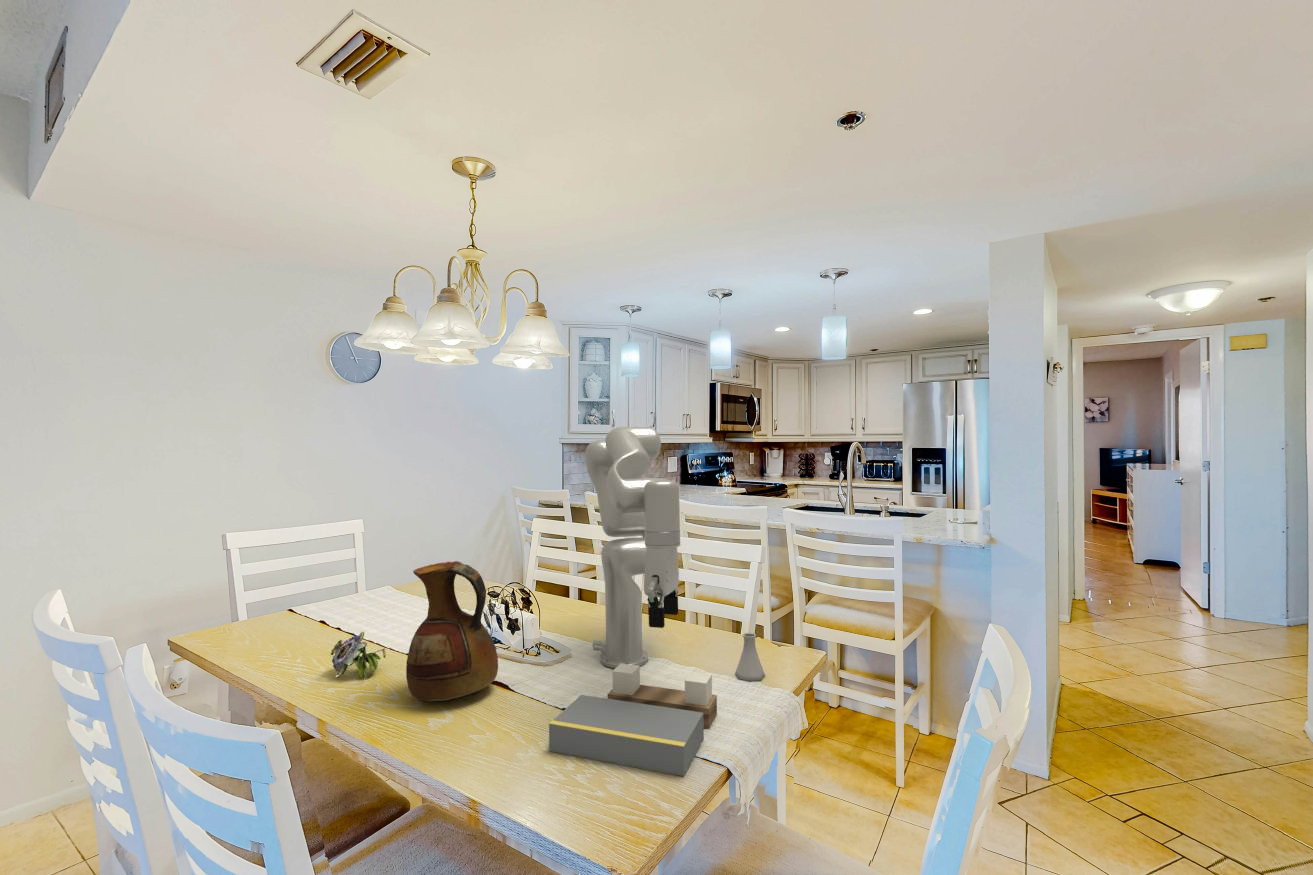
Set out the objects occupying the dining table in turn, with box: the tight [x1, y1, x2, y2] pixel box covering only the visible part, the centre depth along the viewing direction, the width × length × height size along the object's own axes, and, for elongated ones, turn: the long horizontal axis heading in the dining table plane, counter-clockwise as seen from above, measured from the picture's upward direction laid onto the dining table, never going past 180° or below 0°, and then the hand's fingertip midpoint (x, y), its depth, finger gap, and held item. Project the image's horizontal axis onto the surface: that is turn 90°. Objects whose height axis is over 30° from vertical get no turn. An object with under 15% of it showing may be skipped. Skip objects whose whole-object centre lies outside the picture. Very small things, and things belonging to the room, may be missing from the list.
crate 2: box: [684, 671, 713, 706], centre depth 118 cm, size 4×4×4 cm
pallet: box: [606, 684, 718, 730], centre depth 121 cm, size 22×6×4 cm, turn 71°
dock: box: [548, 694, 705, 777], centre depth 108 cm, size 26×13×5 cm, turn 71°
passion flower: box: [330, 631, 387, 679], centre depth 144 cm, size 11×11×12 cm
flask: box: [734, 632, 766, 682], centre depth 140 cm, size 7×7×10 cm
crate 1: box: [611, 664, 641, 695], centre depth 123 cm, size 4×4×4 cm
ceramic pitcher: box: [405, 560, 499, 702], centre depth 132 cm, size 20×20×30 cm
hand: (664, 620), depth 121 cm, fingers open, 9 cm apart
